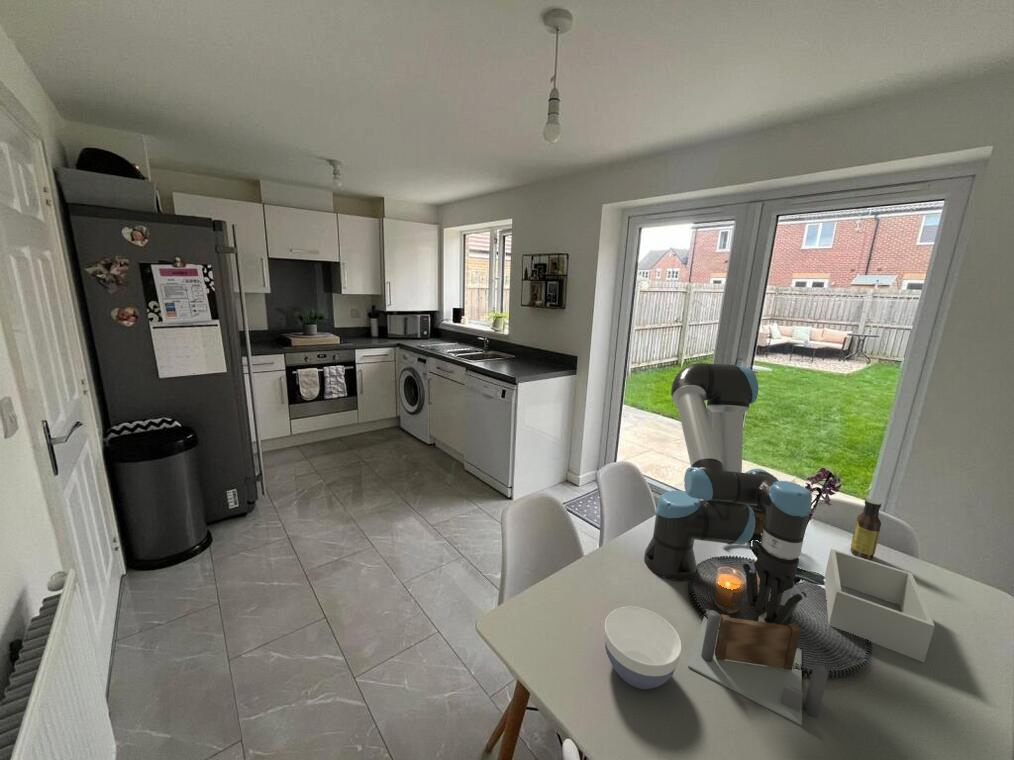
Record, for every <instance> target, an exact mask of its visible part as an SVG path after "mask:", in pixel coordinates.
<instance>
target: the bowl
mask: <svg viewBox="0 0 1014 760" xmlns="http://www.w3.org/2000/svg"><path fill="white" fill-rule="evenodd" d="M603 635H604V644H605V645H604V647H605V652H606V655H607V658H608V660H609V661H610V664H611V666H612V668H613V669H614V670H615V672H616V673H617V674H618V675H619V676H620V678H621V679H622V680H623V681H624V682H625V683H626V684H628V685H629V686H632V687H634V688H636V689H640V690H650V689H655V688H657V687H660V686H662V685H663V684H666V682H667V681H669V680H670V679H671V678H672V677H673V675H674V673H675V670H676V668H677V667H678V664H679V662H680V658H681V653H682V647H683V646H682V642H681V638H680V636H679V633H678V632H677V631H676V629H675V628H674V627H673V625H672V624H670V622H668V621H667V619H665V618H664V617H662V616H660V615H659V614H658V613H656V612H653V611H651V610H649V609H645V608H642V607H638V606H622V607H618V608H616V609H613V610H611V612H610V613H609V614H608V615H607V617H606V618H605V621H604V634H603Z"/></svg>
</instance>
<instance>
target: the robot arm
mask: <svg viewBox="0 0 1014 760" xmlns="http://www.w3.org/2000/svg"><path fill="white" fill-rule="evenodd" d="M670 390H671V392H670V394H671V399H672V402H673V404H674V405H675V406H677V411H678V414H679V419H680V423H681V424H680V425H681V427H682V428H681V429H682V433H683V436H684V437H683V438H684V440H685V446H686V450H687V455H688V460H689V464H690V467H688V468H686V471H685V472H684V478H683V481H684V490H676V489H675V490H669V491H666V492H664V493H662V494H661V495H660V496H659V498H658V501H657V504H656V508H655V511H656V512H655V519H654V528H653V533H652V537H651V540H650V541H649V543H648V545H647V547H646V548H645V551H644V558H643V560H644V563H645V564H646V566H647V567H648V568H649V570H651V571H652V572H653V573H655V574H657V575H658V576H660V577H663V578H665V579H668V580H672V581H689V580H691V579H693V578H694V577H695V576H694V575H696V573H697V562H696V555H695V551H694V542H695V541H702V542H703V541H704V542H712V543H713V542H714V543H720V544H721V543H722V544H726V545H731V546H732V545H740V546H742V545H746V544H747V543H748V541H749V540H750V539H751V537H752V535H753V533H754V529H755V517H754V512H753V510H752V508H751V507H749V506H748V505H757V506H759V507H760V508H761V509H762V510H763V511H764V512H765V513H766V516H765V522H764V528H763V532H762V534H761V535H762V537H761V545H759V546H758V547H759V548H758V552H757V557H756V559H757V560H755V562H752V561H748V562H746V563H744V564H742V568H743V570H744V573H745V579H746V581H745V582H746V596H747V605H748V606H749V607H750V608H752V609H753V610H754V612H755V613H754V614H755V615H754V618H753V621H758V622H765V623H772V624H780V625H783V624H784V623H785V622H787V621H788V619H789V617H790V616H791V614H792V613H793V611H794V610H795V608H796V607H797V605H798V604H799V602H800V601H802V600H804V599H805V598H807V594H806V592H804V591H801V589H799V588H798V586H797V580H796V574H797V570H798V567H799V566H798V565H799V562H800V556H801V553H802V548H803V544H804V539H805V534H806V531H807V527H808V522H809V518H810V514H811V513H812V501H813V500H812V499H813V495H812V493H811V491H810V490H809V489H808V488H806V486H802V485H800V484H799V483H796V482H792V481H786V480H779V479H778V478H777V476H774V475H773V474H771V473H770V472H768V471H766V470H764V469H761V468H753V469H750V470H747V471H746V472H743V440H744V437H743V436H744V414H745V413H747V412H748V410H750V405H752V404H754V403H755V402H756V401H757V398H758V397H757V396H758V395H759V381H758V377H757V376H756V373H754V371H753V370H752V369H751V368H750V367H747V366H744V365H743V366H742V365H737V364H722V363H706V362H695V363H692V364H689V365H686V366H685V367H684V368H682V369H681V370H680V371H679V372H678V373H676V376H675V377H674V379H673V381H672V384H671V388H670ZM707 408H708V409H709V410H710V412H711V419H710V415H709V413H708V409H707ZM747 504H748V505H747ZM693 576H694V577H693ZM692 577H693V578H692ZM690 578H691V579H690ZM758 578H759V583H758ZM758 587H759V588H758ZM789 590H791V591H790V593H789V598H788V600H787V601H786V602H785V603H784V604H783V607H782V609H781V610H780V607H781V603H782V597H783V594H784V593H785V592H786V591H789ZM769 597H770V598H769ZM768 601H769V602H768ZM767 606H768V607H767Z"/></svg>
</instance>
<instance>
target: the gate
mask: <svg viewBox="0 0 1014 760" xmlns="http://www.w3.org/2000/svg"><path fill="white" fill-rule="evenodd" d="M720 615H721V619H720V625H719V630H718V636H717V641H716V647H715V652H714V654H715V656H716V658H717V659H720V660H731V661H738V662H745V663H751V664H758V665H765V666H772V667H778V668H784V669H787V670H792V668H793V663H794V659H795V654H796V650H797V648H798V645H799V640H800V638H801V637H800V636H801V632H802V630H801V628H800V627H799V625H798V624H794V623H788V625H785V624H781V625H780V624H776V623H775V624H772V623H765V622H758V621H754V620H749V619H743V618H742V619H741V618H734V617H730V615H728V614H720Z"/></svg>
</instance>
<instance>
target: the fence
mask: <svg viewBox="0 0 1014 760" xmlns="http://www.w3.org/2000/svg"><path fill="white" fill-rule="evenodd" d="M706 610H707V611H708V612H709V613H708V619H707V618H706V617H705V616H704V615H703V618H702V621H701V625H700V627H699V630H698V634H697V638H696V640H695V643H694V647H693V649H692V653H691V656H690V659H689V662H688V666H687V668H689V669H691V670H692V671H695V672H697V673H699V674H700V675H702V676H704V677H706V678H708V679H710V680H712V681H713V682H716V683H718V684H719V685H722V686H724V687H725V688H728V689H730V690H732V691H733V692H736V693H737V694H740V695H742V697H745V698H746V699H749V700H750V701H753V702H755V703H757V704H759V705H760V706H762V707H764V708H766V709H768V710H771V711H772V712H774V713H776V714H778V715H779V716H782V717H783V718H786V719H787V720H789V721H791V722H794V723H795V724H798V725H799V726H802V725H803V710H804V711H805V713H807V714H808V715H809V716H812V717H815V718H816V717H818V716H819V712H820V708H821V704H822V702H823V696H824V692H825V690H826V689H825V688H826V684H827V681H828V676H829V671H828V670H827V669H826V667H824V666H822V665H820V664H814V665H813V666H812V670H811V674H810V679H809V683H808V687H807V691H806V695H805V696H806V697H805V701H804V704H803V703H802V702H803V696H804V694H803V693H804V691H803V690H802V688H803V687H802V684H803V683H802V682H803V677H802V675H803V674H802V671H803V670H798V669H793V668H792V670H787V669H784V668H778V667H772V666H765V665H758V664H751V663H745V662H738V661H731V660H720V659H717V658H716V656H715V654H714V652H715V647H716V641H717V636H718V630H719V629H718V628H719V623H720V619H721V614H720V613H719V612H718V611H716V610H711V609H708V608H706V609H705V611H706ZM802 658H803V657H802V649H800V648H799V647H797V650H796V654H795V659H794V663H797V664H799V665H800V664H801V665H802V666H803V663H802Z"/></svg>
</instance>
